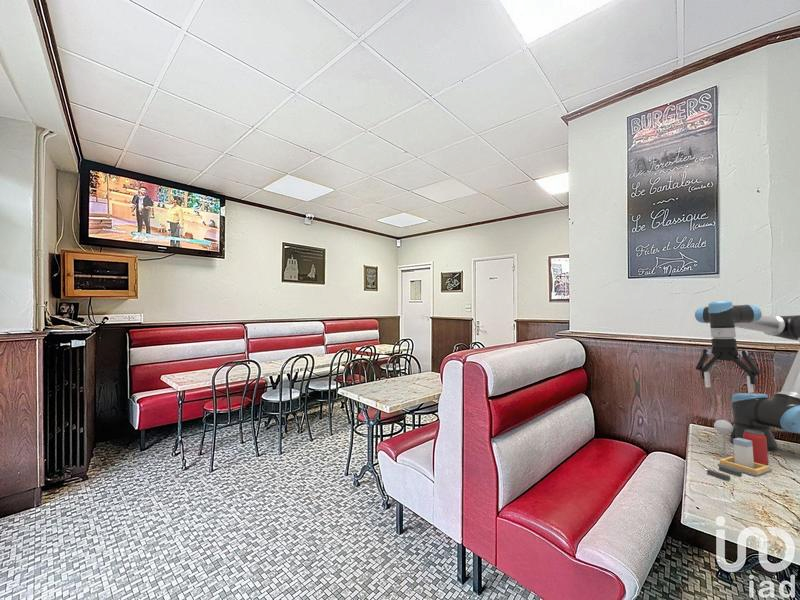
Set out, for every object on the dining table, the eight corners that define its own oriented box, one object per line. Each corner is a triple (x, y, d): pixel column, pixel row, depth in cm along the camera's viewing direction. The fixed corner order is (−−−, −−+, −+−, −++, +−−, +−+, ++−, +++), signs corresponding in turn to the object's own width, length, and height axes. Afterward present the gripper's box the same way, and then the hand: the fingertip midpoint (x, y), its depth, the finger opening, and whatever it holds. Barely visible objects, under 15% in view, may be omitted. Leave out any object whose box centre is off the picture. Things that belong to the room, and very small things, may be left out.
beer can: (773, 466, 132) (770, 434, 133) (753, 464, 134) (750, 433, 134) (759, 459, 139) (757, 429, 140) (740, 458, 140) (738, 428, 141)
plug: (740, 463, 133) (738, 437, 134) (754, 467, 130) (752, 440, 130) (735, 465, 132) (733, 439, 132) (749, 469, 128) (746, 442, 129)
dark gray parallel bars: (721, 469, 130) (720, 465, 130) (742, 476, 124) (741, 471, 124) (707, 474, 126) (707, 469, 126) (728, 480, 120) (727, 476, 120)
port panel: (733, 460, 138) (733, 455, 138) (771, 471, 128) (771, 465, 128) (717, 465, 133) (717, 460, 133) (755, 477, 123) (755, 471, 123)
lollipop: (731, 460, 138) (728, 422, 139) (713, 455, 143) (710, 419, 144) (738, 457, 141) (735, 420, 142) (719, 452, 146) (717, 417, 147)
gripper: (683, 337, 152) (687, 386, 150) (761, 339, 129) (767, 396, 128) (692, 336, 155) (696, 384, 154) (769, 338, 133) (775, 393, 131)
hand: (728, 389), depth 141 cm, fingers open, 13 cm apart
